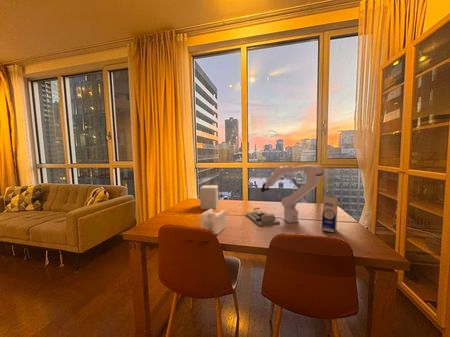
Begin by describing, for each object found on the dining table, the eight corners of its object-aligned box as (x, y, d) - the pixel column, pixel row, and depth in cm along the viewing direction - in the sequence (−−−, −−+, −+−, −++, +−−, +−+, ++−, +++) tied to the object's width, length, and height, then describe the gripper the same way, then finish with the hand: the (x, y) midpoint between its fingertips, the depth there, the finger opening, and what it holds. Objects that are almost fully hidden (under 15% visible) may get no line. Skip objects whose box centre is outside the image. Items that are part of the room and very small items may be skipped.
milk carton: (321, 230, 122) (322, 195, 121) (323, 227, 127) (324, 194, 127) (335, 233, 118) (336, 197, 117) (336, 230, 123) (338, 195, 123)
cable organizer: (212, 225, 137) (211, 207, 136) (227, 227, 133) (227, 209, 131) (200, 234, 123) (200, 214, 122) (217, 236, 119) (216, 216, 118)
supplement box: (219, 204, 185) (218, 185, 183) (216, 209, 172) (215, 187, 170) (204, 204, 187) (203, 185, 185) (200, 208, 174) (199, 187, 172)
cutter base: (279, 223, 135) (279, 215, 135) (259, 226, 132) (259, 218, 131) (263, 213, 158) (263, 205, 158) (246, 215, 155) (245, 207, 154)
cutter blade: (265, 216, 146) (265, 211, 145) (258, 217, 144) (258, 211, 144) (259, 212, 154) (259, 207, 154) (253, 213, 153) (253, 208, 153)
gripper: (274, 170, 157) (264, 180, 167) (265, 179, 147) (255, 189, 157) (281, 176, 156) (271, 187, 165) (273, 186, 146) (262, 196, 155)
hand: (264, 188), depth 161 cm, fingers open, 7 cm apart
